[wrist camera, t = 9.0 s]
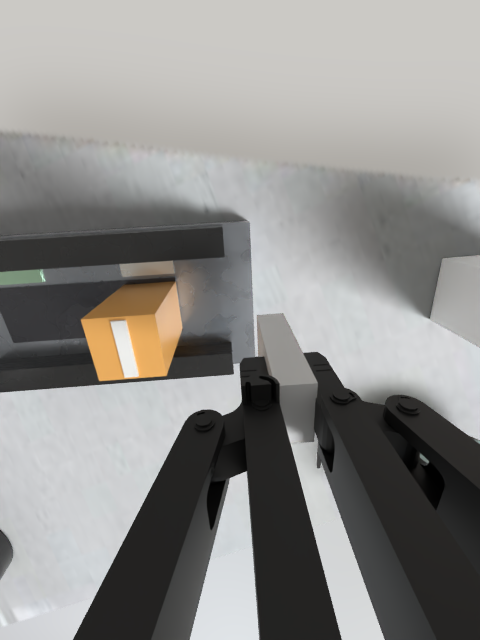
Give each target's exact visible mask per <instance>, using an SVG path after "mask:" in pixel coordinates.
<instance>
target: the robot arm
mask: <svg viewBox="0 0 480 640" xmlns="http://www.w3.org/2000/svg"><path fill="white" fill-rule="evenodd" d="M257 333H258V357H249V358H243V360H242V361H241V363H240V378H241V393H242V402H241V404H240V406H239V407H238V408H237V409H236V410H235V411H233V412H231V413H229V414H226V415H223V416H222V415H221V414H220V413H218V412H217V411H214V410H201V411H198V412H195V413H194V414H192V415H190V416H189V417H188V419H187V420H186V421H185V423H184V425H183V427H182V429H181V431H180V433H179V435H178V437H177V439H176V441H175V443H174V444H173V446H172V448H171V450H170V452H169V454H168V456H167V458H166V460H165V462H164V464H163V466H162V468H161V470H160V472H159V474H158V476H157V477H156V479H155V481H154V483H153V485H152V487H151V489H150V491H149V493H148V495H147V497H146V499H145V501H144V503H143V505H142V507H141V509H140V511H139V512H138V514H137V516H136V518H135V520H134V522H133V524H132V526H131V528H130V530H129V532H128V534H127V536H126V538H125V540H124V542H123V544H122V545H121V547H120V549H119V551H118V553H117V555H116V557H115V559H114V561H113V563H112V565H111V567H110V569H109V571H108V573H107V575H106V577H105V579H104V580H103V582H102V584H101V586H100V588H99V590H98V592H97V594H96V596H95V598H94V600H93V602H92V604H91V606H90V608H89V610H88V612H87V613H86V615H85V617H84V619H83V621H82V624H81V625H80V627H79V629H78V631H77V633H76V635H75V637H74V639H73V640H190V636H191V631H192V628H193V624H194V619H195V616H196V612H197V608H198V604H199V600H200V596H201V592H202V587H203V583H204V580H205V576H206V571H207V567H208V564H209V560H210V556H211V552H212V548H213V544H214V540H215V536H216V532H217V528H218V524H219V520H220V516H221V512H222V508H223V504H224V500H225V496H226V492H227V488H228V484H229V478H231V477H233V476H236V475H238V474H241V473H243V472H246V471H247V478H248V491H249V505H250V519H251V532H252V546H253V559H254V573H255V587H256V600H257V614H258V627H259V640H342V639H341V635H340V631H339V628H338V624H337V621H336V616H335V613H334V608H333V605H332V601H331V597H330V593H329V590H328V586H327V582H326V578H325V574H324V570H323V566H322V563H321V559H320V555H319V551H318V548H317V544H316V540H315V536H314V532H313V528H312V524H311V521H310V517H309V513H308V509H307V505H306V501H305V498H304V494H303V490H302V486H301V482H300V479H299V475H298V471H297V467H296V463H295V459H294V456H293V452H292V448H291V444H290V443H302V442H314V435H315V433H316V435H317V438H318V452H317V468H320V465H321V462H322V465H323V468H324V470H325V473H326V476H327V479H328V482H329V484H330V487H331V490H332V493H333V496H334V498H335V501H336V504H337V507H338V510H339V513H340V515H341V518H342V521H343V524H344V527H345V529H346V532H347V535H348V538H349V541H350V543H351V546H352V549H353V552H354V555H355V557H356V560H357V563H358V566H359V569H360V571H361V574H362V577H363V580H364V583H365V585H366V588H367V591H368V594H369V597H370V599H371V602H372V605H373V608H374V611H375V613H376V616H377V619H378V621H379V625H380V627H381V630H382V633H383V636H384V639H385V640H480V444H479V443H478V442H476V441H475V440H473V439H472V438H471V437H469V436H468V435H467V434H465V433H464V432H462V431H461V430H460V429H458V428H457V427H456V426H454V425H453V424H452V423H450V422H449V421H447V420H446V419H445V418H443V417H442V416H441V415H439V414H438V413H437V412H435V411H434V410H432V409H431V408H430V407H428V406H427V405H426V404H424V403H423V402H421V401H419V400H417V399H415V398H412V397H409V396H404V395H393V396H391V397H389V398H387V400H386V402H385V405H381V404H374V403H368V402H364V401H362V400H361V399H360V397H359V396H358V395H357V394H356V393H355V392H353V391H351V390H349V389H346V388H344V386H343V385H342V383H341V381H340V380H339V378H338V377H337V375H336V373H335V372H334V371H333V369H332V367H331V365H329V362H328V361H327V359H326V358H325V357H324V356H323V355H321V354H320V353H318V352H311V353H303V352H302V350H301V348H300V346H299V344H298V342H297V340H296V338H295V336H294V334H293V332H292V330H291V328H290V326H289V324H288V322H287V320H286V318H285V316H284V314H283V313H282V314H267V315H257ZM420 454H422V455H423V456H424V457H425V458H426V459H427V460H428V461H429V463H426V462H425V461H423V460H422V459H421V458H420ZM12 558H13V549H12V546H11V544H10V542H9V540H8V539H7V538H6V537H5V535H4V534H3V533H2V532H0V579H1V578H2V576H3V574H4V573H5V571H6V569H7V568H8V566H9V564H10V563H11V561H12Z"/></svg>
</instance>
